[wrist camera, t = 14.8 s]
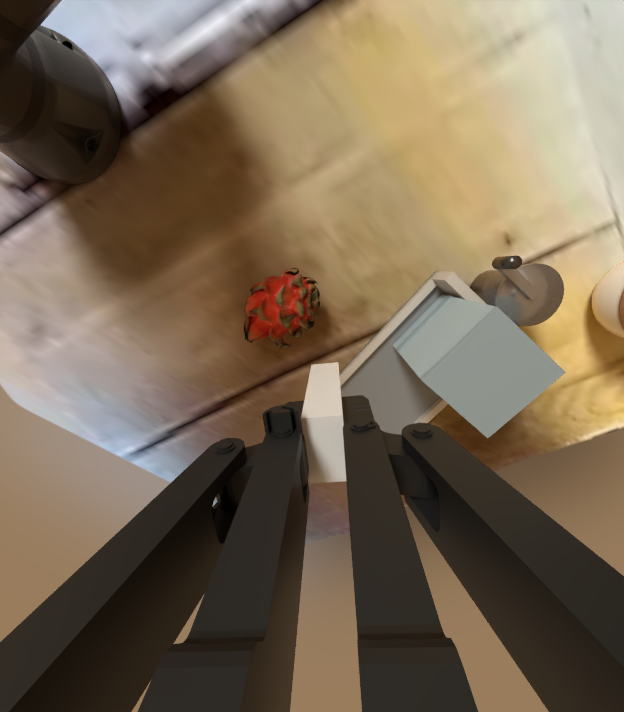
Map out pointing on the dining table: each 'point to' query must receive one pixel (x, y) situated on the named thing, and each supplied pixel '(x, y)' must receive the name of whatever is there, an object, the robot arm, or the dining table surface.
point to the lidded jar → (610, 300)
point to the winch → (521, 290)
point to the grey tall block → (477, 361)
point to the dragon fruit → (281, 307)
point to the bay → (400, 362)
